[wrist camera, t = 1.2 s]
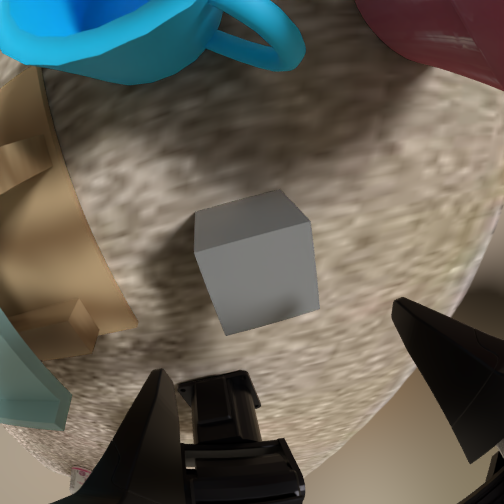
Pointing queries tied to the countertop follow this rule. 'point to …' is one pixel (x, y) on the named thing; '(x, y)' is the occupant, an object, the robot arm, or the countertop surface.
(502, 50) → the plant pot
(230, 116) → the countertop surface
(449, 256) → the countertop surface
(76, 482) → the pill bottle
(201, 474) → the robot arm
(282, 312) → the gray cube
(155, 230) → the countertop surface
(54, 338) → the frame
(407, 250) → the countertop surface
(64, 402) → the trapdoor
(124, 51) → the mug
